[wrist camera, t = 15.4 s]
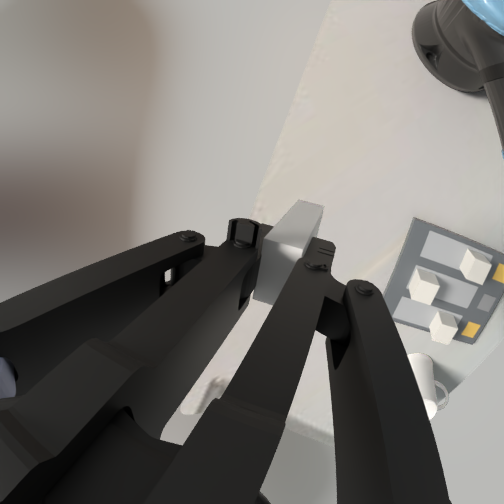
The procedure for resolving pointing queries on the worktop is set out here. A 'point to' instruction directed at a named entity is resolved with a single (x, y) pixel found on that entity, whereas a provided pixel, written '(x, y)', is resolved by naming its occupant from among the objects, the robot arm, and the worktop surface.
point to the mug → (427, 382)
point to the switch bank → (444, 281)
